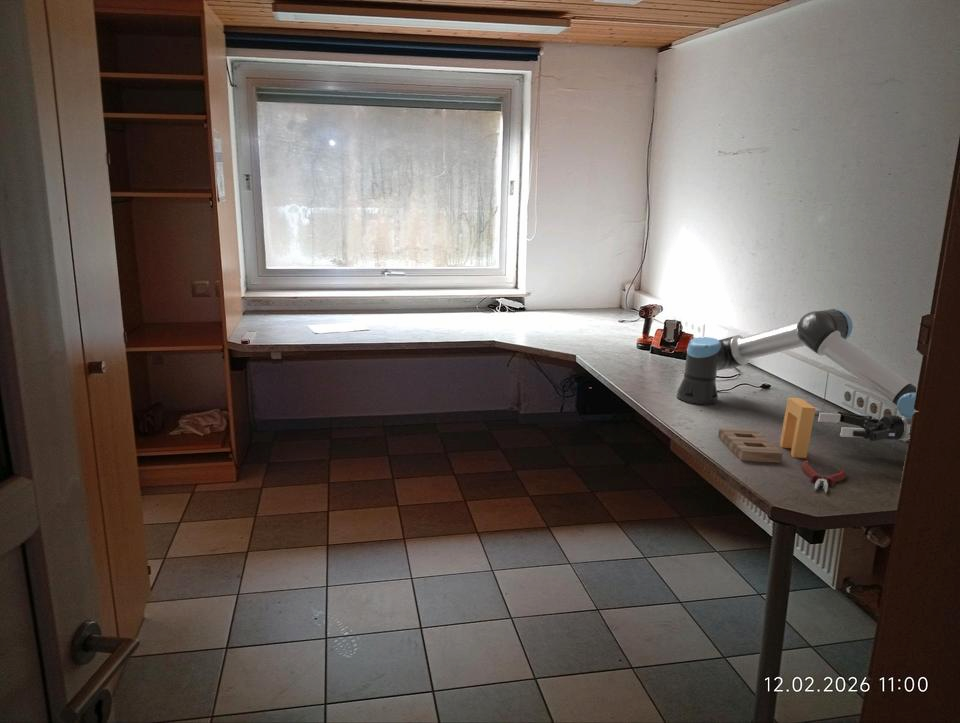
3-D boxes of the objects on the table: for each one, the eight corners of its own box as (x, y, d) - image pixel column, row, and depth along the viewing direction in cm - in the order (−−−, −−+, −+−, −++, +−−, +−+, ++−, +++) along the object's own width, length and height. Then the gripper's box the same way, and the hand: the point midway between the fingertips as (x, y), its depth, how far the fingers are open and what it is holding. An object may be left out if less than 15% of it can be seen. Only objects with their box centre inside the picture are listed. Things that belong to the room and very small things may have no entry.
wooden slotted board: (718, 436, 224) (719, 428, 223) (754, 438, 224) (756, 430, 223) (740, 460, 204) (742, 451, 203) (780, 462, 204) (782, 453, 204)
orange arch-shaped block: (779, 445, 219) (787, 397, 215) (791, 445, 219) (800, 398, 215) (793, 457, 209) (802, 407, 205) (806, 457, 209) (815, 408, 205)
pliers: (796, 490, 187) (798, 481, 186) (802, 466, 204) (803, 458, 203) (843, 501, 181) (845, 492, 181) (845, 476, 199) (846, 467, 198)
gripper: (920, 454, 201) (849, 450, 201) (873, 425, 225) (809, 422, 225) (926, 430, 199) (853, 426, 199) (877, 403, 223) (812, 400, 223)
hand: (829, 424), depth 212 cm, fingers open, 13 cm apart
